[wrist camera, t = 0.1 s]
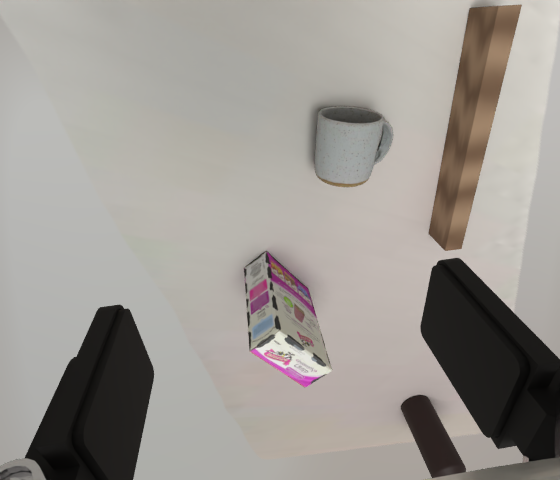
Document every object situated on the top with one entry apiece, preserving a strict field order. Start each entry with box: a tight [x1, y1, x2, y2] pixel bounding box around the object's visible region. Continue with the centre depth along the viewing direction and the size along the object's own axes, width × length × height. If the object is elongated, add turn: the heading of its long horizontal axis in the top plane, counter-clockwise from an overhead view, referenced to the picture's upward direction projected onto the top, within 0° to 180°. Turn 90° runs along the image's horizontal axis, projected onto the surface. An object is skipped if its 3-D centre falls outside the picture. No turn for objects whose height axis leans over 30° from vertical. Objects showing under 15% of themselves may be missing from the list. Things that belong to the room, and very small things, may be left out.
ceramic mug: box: [315, 106, 393, 187], centre depth 43 cm, size 11×8×8 cm
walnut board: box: [429, 5, 522, 251], centre depth 46 cm, size 30×2×5 cm, turn 4°
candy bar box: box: [244, 252, 332, 387], centre depth 50 cm, size 11×5×16 cm, turn 40°
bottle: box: [401, 396, 466, 478], centre depth 73 cm, size 7×7×20 cm
